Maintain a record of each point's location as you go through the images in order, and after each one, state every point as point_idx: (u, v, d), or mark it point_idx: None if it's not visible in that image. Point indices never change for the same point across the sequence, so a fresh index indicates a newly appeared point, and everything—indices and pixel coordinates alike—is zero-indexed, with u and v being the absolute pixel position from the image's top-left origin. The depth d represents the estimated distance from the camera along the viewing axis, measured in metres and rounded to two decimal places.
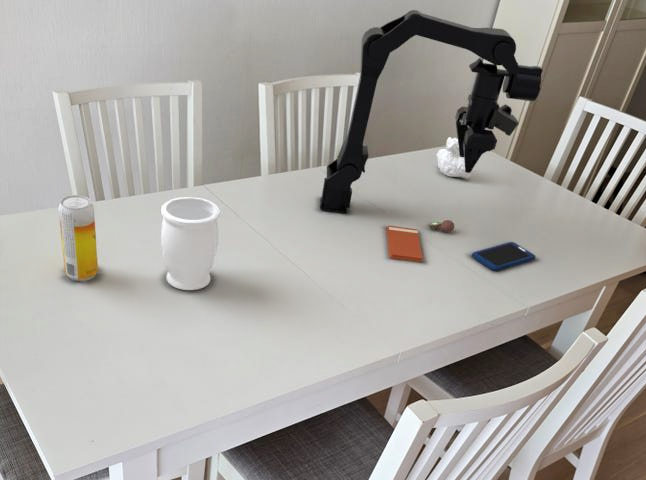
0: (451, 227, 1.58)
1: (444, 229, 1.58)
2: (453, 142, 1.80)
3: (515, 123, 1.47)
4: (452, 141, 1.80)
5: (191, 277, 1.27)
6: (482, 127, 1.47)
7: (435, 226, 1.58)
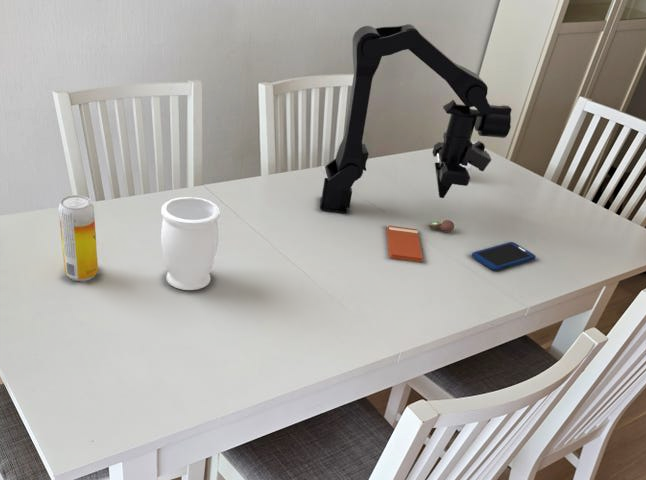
0: (451, 227, 1.58)
1: (444, 229, 1.58)
2: None
3: (488, 160, 1.55)
4: None
5: (191, 277, 1.27)
6: (456, 163, 1.55)
7: (435, 226, 1.58)
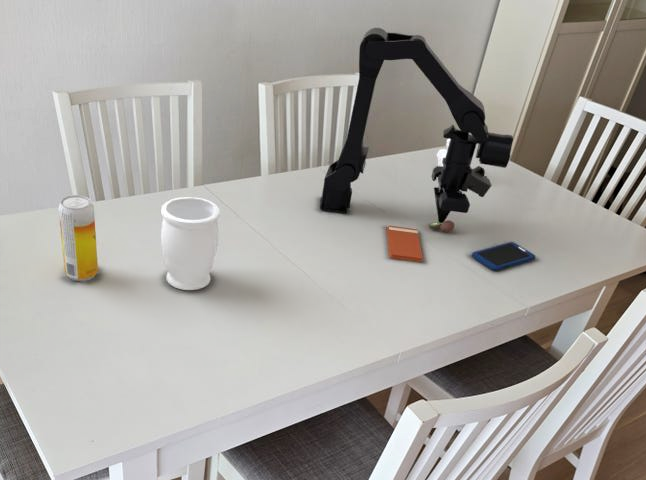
0: (451, 227, 1.58)
1: (444, 229, 1.58)
2: None
3: (488, 186, 1.52)
4: None
5: (191, 277, 1.27)
6: (456, 189, 1.53)
7: (435, 226, 1.58)
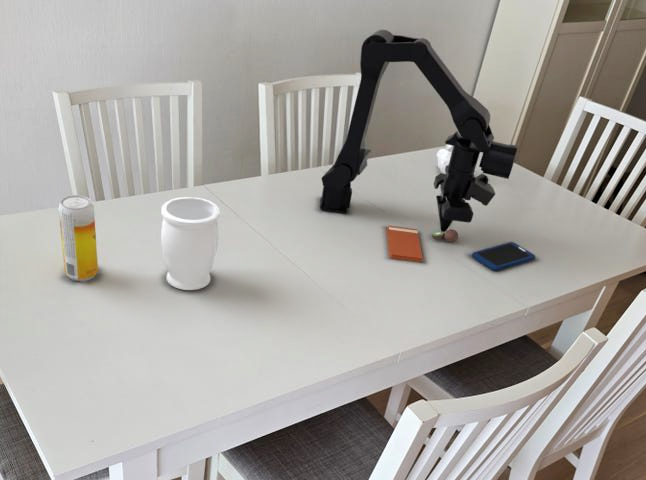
0: (455, 236, 1.54)
1: (448, 239, 1.54)
2: None
3: (491, 194, 1.48)
4: None
5: (191, 277, 1.27)
6: (459, 198, 1.49)
7: (439, 236, 1.55)
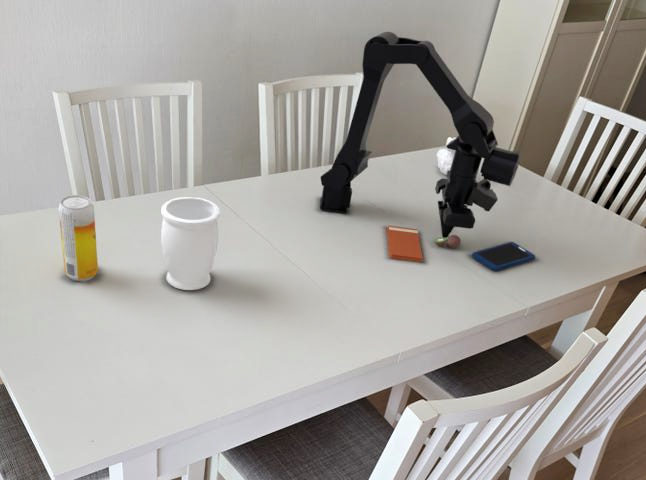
0: (458, 242, 1.52)
1: (452, 245, 1.52)
2: None
3: (494, 200, 1.46)
4: None
5: (191, 277, 1.27)
6: (461, 204, 1.47)
7: (442, 243, 1.52)
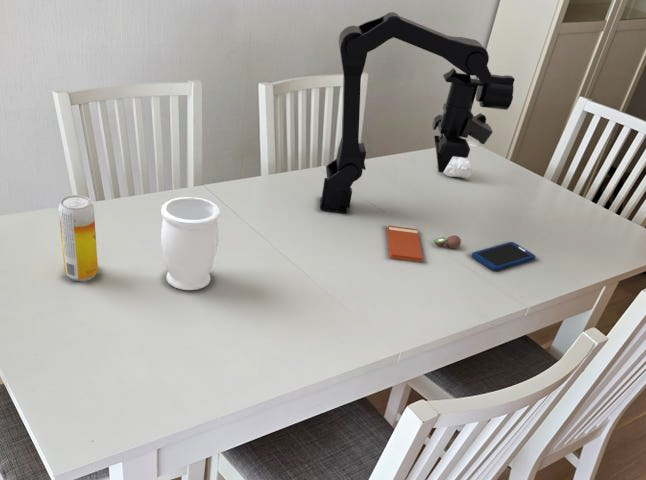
0: (458, 242, 1.52)
1: (452, 245, 1.52)
2: None
3: (489, 132, 1.49)
4: None
5: (191, 277, 1.27)
6: (456, 135, 1.50)
7: (442, 243, 1.52)
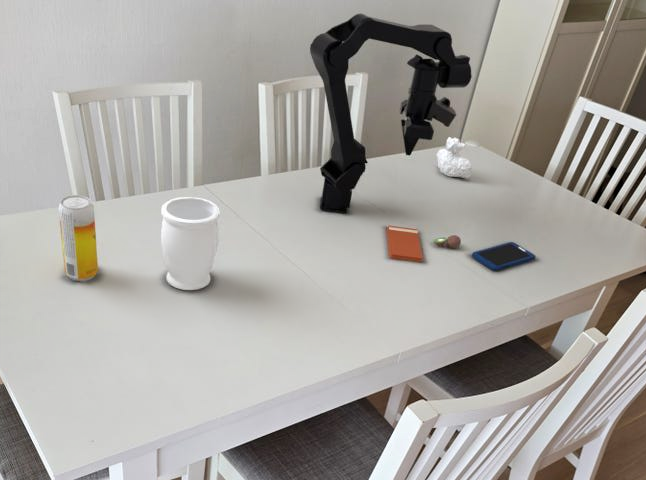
0: (458, 242, 1.52)
1: (452, 245, 1.52)
2: (453, 142, 1.80)
3: (452, 115, 1.54)
4: (452, 141, 1.80)
5: (191, 277, 1.27)
6: (421, 119, 1.55)
7: (442, 243, 1.52)
